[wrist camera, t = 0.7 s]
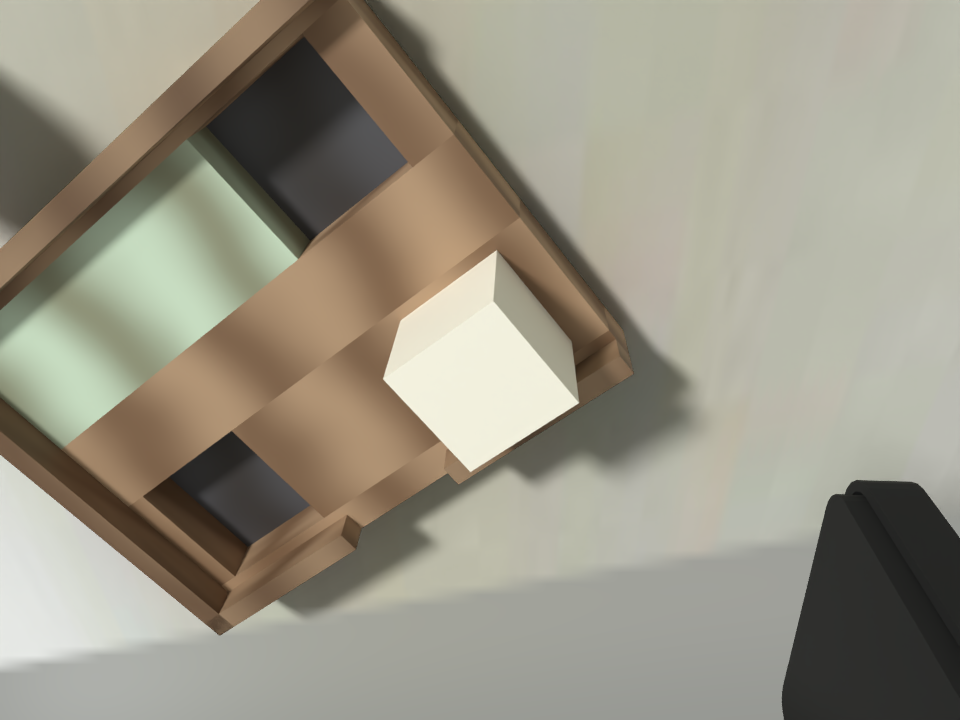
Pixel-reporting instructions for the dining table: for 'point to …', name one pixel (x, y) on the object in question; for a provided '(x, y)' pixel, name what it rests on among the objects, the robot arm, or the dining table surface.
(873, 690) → the robot arm
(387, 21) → the dining table surface
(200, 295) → the tray
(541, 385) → the block
